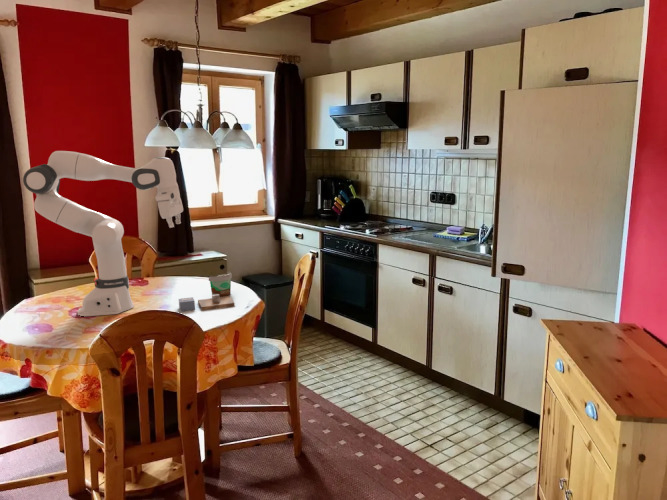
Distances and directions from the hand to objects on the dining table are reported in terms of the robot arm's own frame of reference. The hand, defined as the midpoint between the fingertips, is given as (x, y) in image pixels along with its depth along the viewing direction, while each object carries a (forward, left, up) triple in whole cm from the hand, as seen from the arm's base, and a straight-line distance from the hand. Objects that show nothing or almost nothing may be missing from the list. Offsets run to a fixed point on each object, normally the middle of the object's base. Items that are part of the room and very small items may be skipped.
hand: (175, 225), depth 236 cm
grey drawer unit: (+1, -12, -35) cm, 37 cm away
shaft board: (+14, -12, -35) cm, 39 cm away
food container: (+20, +3, -35) cm, 40 cm away
